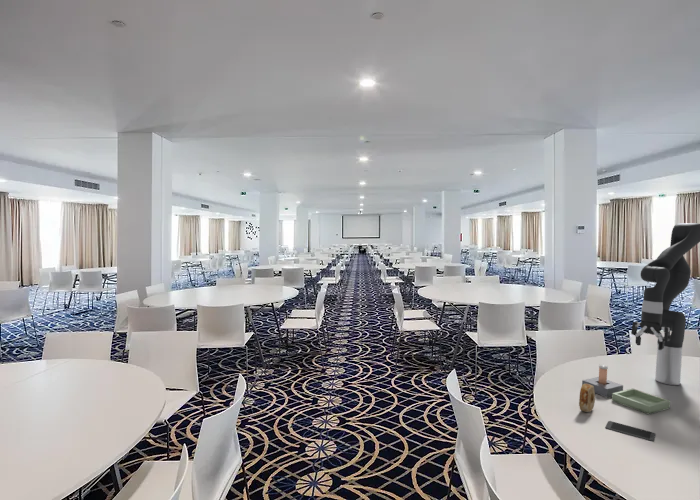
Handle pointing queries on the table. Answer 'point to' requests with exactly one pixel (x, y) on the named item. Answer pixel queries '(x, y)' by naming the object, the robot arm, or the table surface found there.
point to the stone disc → (587, 398)
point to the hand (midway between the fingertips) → (649, 347)
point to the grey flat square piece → (603, 386)
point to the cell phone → (630, 431)
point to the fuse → (603, 374)
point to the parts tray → (641, 401)
